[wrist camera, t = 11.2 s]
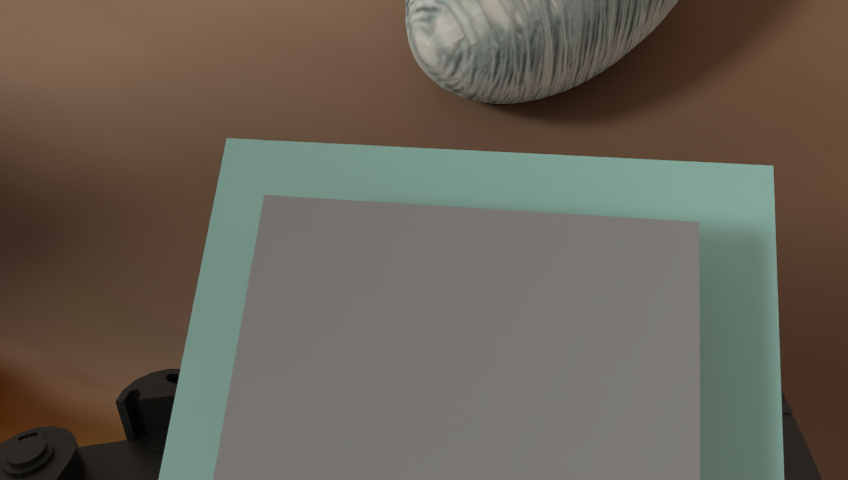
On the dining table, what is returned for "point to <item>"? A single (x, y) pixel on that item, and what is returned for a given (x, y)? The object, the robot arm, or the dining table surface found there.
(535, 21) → the spool
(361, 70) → the dining table surface
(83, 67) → the dining table surface
